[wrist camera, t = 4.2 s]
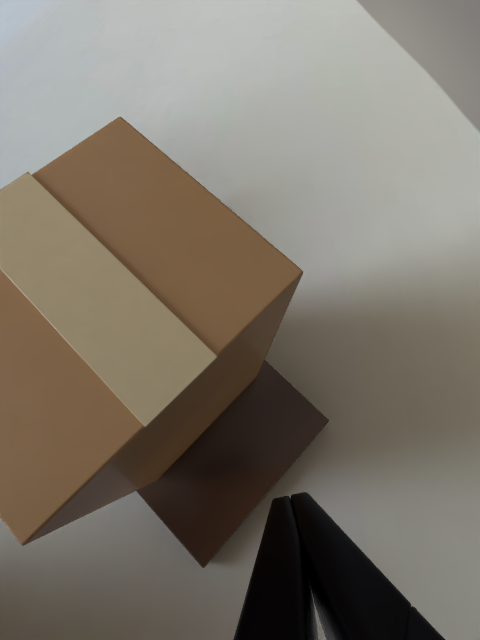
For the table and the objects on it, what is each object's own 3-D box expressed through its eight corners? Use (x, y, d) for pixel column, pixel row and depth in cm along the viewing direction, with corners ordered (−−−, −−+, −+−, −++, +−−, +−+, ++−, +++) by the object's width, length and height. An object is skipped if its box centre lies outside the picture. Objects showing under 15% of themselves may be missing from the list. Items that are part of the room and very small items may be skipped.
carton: (295, 407, 18) (313, 225, 6) (191, 524, 16) (-46, 560, 5) (185, 310, 21) (68, 77, 10) (88, 398, 19) (-197, 236, 8)
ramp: (327, 424, 19) (343, 391, 14) (207, 565, 17) (171, 591, 12) (121, 246, 27) (80, 180, 22) (18, 327, 25) (-57, 276, 19)
